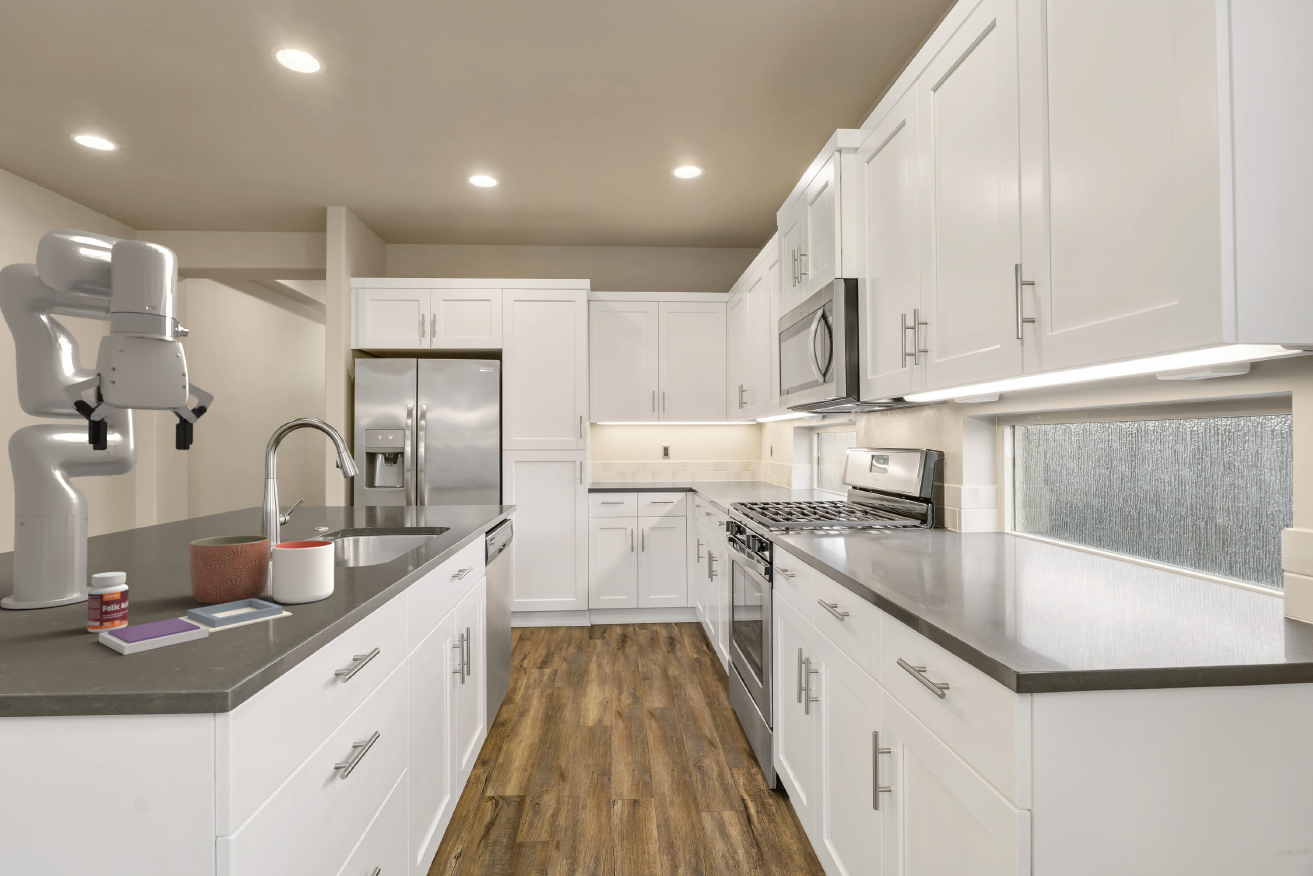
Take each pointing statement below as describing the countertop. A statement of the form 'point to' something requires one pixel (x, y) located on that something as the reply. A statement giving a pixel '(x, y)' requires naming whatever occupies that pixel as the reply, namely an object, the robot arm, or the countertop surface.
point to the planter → (229, 568)
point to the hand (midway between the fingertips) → (143, 450)
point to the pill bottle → (108, 602)
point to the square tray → (235, 614)
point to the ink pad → (152, 635)
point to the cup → (302, 571)
